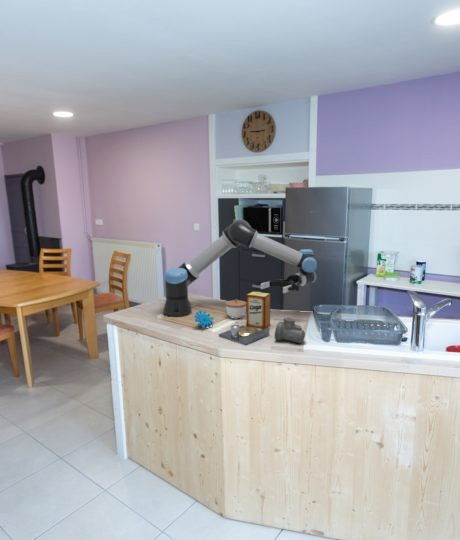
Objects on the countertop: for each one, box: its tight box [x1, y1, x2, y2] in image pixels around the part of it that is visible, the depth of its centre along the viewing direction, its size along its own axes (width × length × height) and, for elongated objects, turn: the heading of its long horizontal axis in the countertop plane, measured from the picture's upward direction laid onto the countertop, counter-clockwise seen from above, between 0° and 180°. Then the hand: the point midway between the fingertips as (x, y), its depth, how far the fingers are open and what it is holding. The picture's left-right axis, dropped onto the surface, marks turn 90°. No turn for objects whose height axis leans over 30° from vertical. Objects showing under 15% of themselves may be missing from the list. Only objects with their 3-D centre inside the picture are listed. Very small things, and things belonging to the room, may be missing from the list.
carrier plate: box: [218, 324, 270, 346], centre depth 172 cm, size 16×16×6 cm
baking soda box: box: [245, 291, 271, 330], centre depth 185 cm, size 10×6×16 cm
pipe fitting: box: [274, 316, 306, 344], centre depth 165 cm, size 12×8×10 cm
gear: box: [194, 309, 215, 329], centre depth 186 cm, size 11×6×10 cm
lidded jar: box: [225, 299, 246, 319], centre depth 199 cm, size 11×11×9 cm
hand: (271, 288), depth 190 cm, fingers open, 13 cm apart
